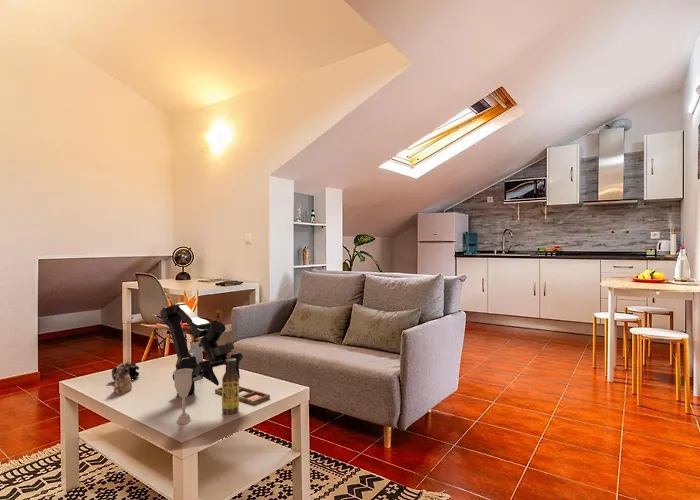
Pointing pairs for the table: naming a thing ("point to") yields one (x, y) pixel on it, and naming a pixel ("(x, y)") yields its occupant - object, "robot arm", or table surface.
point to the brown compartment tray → (248, 395)
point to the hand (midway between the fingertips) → (228, 381)
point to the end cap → (132, 373)
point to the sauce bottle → (230, 388)
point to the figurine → (122, 379)
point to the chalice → (183, 390)
